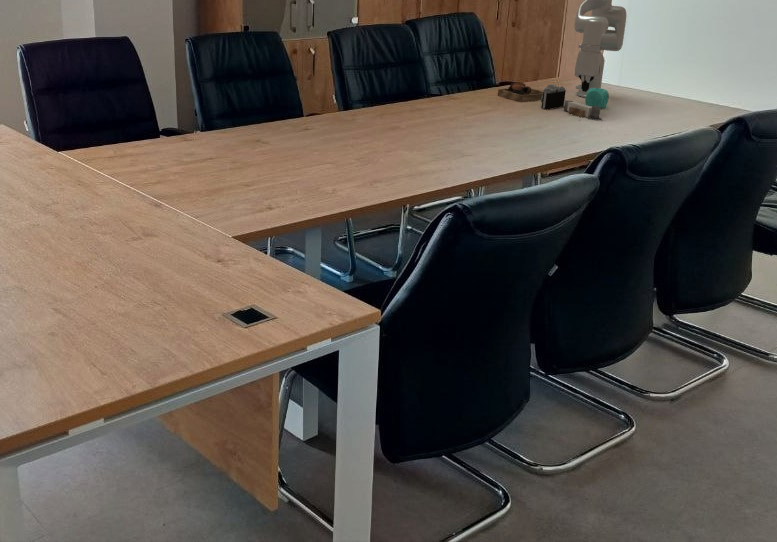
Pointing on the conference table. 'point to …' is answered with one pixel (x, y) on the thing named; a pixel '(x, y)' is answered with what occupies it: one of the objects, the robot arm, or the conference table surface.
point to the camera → (553, 97)
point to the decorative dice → (597, 97)
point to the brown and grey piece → (579, 112)
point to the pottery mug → (519, 88)
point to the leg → (579, 106)
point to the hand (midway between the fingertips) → (584, 91)
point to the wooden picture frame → (533, 96)
